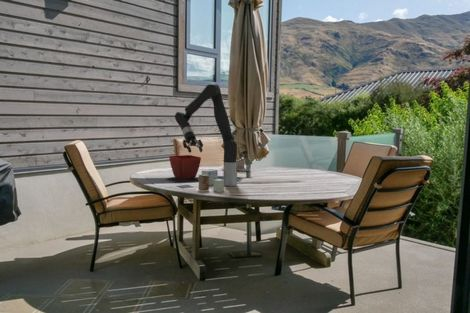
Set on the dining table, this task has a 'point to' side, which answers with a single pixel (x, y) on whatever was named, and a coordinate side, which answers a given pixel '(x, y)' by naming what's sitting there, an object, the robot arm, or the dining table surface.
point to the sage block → (218, 185)
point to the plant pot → (185, 166)
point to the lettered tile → (204, 190)
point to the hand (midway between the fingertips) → (196, 151)
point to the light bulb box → (211, 175)
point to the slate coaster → (184, 186)
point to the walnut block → (203, 182)
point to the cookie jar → (239, 165)
